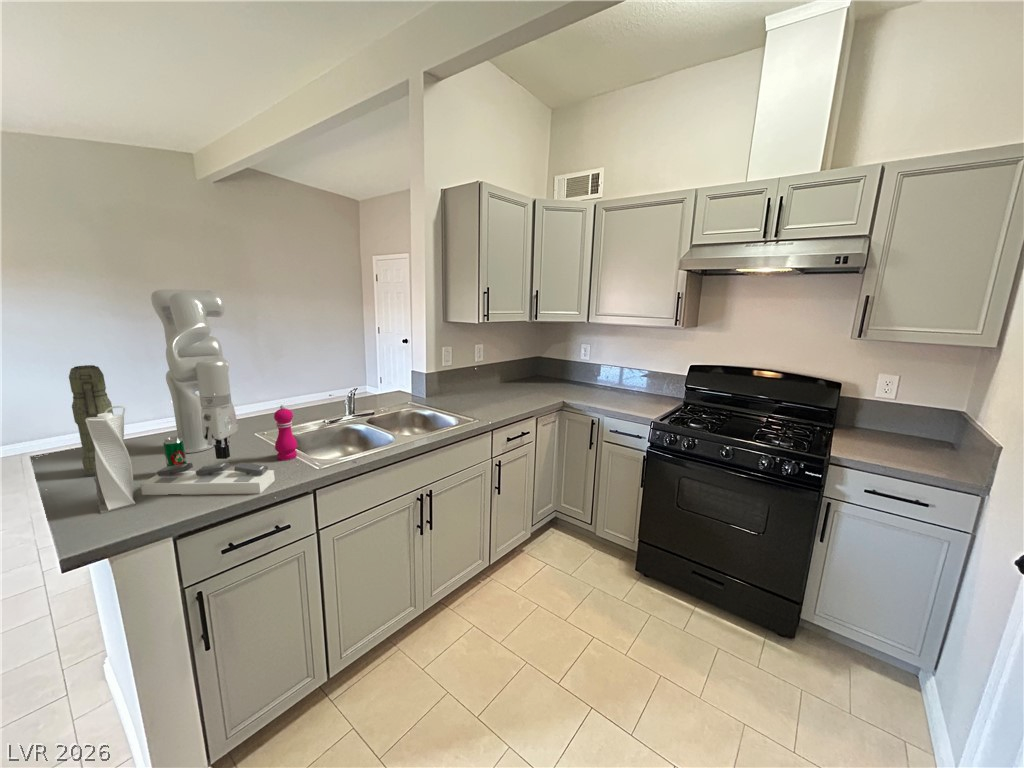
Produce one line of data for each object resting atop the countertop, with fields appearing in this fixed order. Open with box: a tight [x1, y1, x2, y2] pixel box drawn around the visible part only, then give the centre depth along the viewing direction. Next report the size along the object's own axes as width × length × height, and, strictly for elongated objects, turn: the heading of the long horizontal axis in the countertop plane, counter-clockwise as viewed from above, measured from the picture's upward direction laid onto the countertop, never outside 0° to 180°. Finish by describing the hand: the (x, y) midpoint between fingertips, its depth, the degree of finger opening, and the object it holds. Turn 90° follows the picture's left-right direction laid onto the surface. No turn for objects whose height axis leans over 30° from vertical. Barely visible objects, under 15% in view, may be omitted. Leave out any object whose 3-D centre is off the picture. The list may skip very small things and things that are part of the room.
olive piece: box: [68, 364, 114, 477], centre depth 130 cm, size 9×12×35 cm
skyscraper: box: [85, 405, 136, 515], centre depth 111 cm, size 8×8×28 cm
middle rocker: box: [194, 462, 231, 476], centre depth 126 cm, size 8×4×2 cm, turn 95°
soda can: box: [162, 435, 187, 467], centre depth 133 cm, size 5×5×12 cm
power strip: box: [140, 469, 276, 496], centre depth 125 cm, size 33×9×4 cm, turn 95°
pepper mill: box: [273, 404, 298, 461], centre depth 148 cm, size 7×7×20 cm
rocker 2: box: [233, 462, 269, 475], centre depth 127 cm, size 8×4×2 cm, turn 95°
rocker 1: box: [156, 462, 194, 476], centre depth 125 cm, size 8×4×2 cm, turn 95°
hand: (223, 457), depth 125 cm, fingers closed
